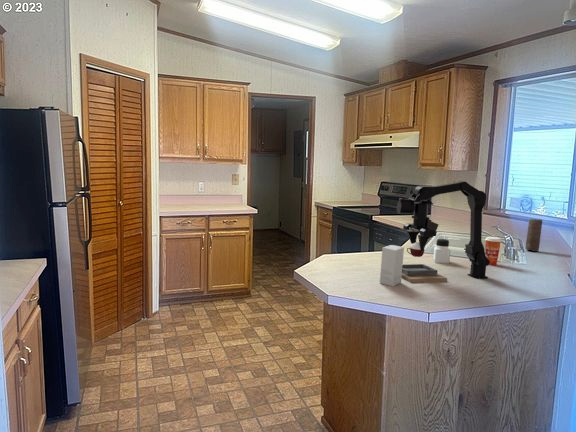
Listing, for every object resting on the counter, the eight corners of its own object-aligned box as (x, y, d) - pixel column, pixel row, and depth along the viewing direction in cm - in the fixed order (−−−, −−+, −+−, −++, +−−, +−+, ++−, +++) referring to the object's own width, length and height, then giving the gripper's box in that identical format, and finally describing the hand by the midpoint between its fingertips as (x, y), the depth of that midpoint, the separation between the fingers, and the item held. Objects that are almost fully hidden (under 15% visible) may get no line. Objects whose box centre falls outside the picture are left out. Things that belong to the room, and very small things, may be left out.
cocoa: (405, 256, 197) (405, 230, 196) (410, 253, 202) (410, 228, 201) (426, 259, 192) (427, 232, 190) (430, 256, 197) (431, 230, 195)
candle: (539, 253, 264) (543, 220, 261) (525, 251, 267) (529, 219, 264) (538, 251, 271) (541, 219, 268) (524, 249, 274) (528, 218, 271)
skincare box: (388, 279, 189) (390, 244, 187) (402, 283, 185) (405, 246, 183) (378, 283, 182) (381, 246, 180) (393, 286, 178) (396, 249, 176)
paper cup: (482, 264, 226) (484, 237, 225) (483, 261, 233) (485, 235, 231) (498, 266, 223) (501, 239, 221) (499, 263, 230) (502, 237, 228)
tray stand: (447, 281, 190) (447, 273, 190) (409, 282, 186) (410, 274, 185) (420, 268, 211) (420, 261, 211) (386, 269, 207) (386, 262, 206)
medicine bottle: (449, 263, 224) (451, 241, 223) (434, 262, 226) (436, 239, 224) (447, 260, 231) (449, 238, 230) (433, 259, 233) (435, 237, 231)
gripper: (448, 217, 188) (445, 252, 190) (425, 211, 206) (422, 244, 208) (425, 217, 185) (422, 253, 187) (403, 211, 203) (401, 244, 205)
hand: (417, 248), depth 197 cm, fingers closed on cocoa, 7 cm apart
